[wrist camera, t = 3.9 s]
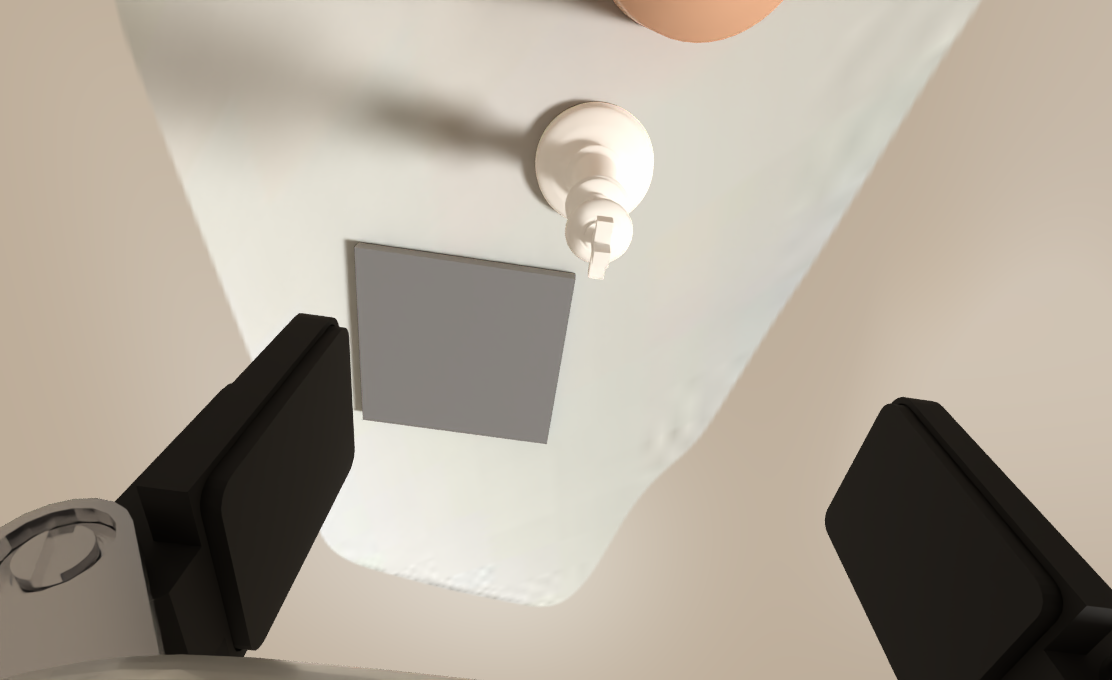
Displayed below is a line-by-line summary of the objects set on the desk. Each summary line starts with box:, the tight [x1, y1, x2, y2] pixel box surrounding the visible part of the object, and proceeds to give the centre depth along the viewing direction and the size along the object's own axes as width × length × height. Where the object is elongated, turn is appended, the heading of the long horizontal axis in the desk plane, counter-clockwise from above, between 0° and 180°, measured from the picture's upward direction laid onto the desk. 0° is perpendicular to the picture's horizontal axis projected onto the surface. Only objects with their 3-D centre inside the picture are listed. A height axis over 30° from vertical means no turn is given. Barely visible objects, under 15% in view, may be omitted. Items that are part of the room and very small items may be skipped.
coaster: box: [354, 242, 575, 444], centre depth 28 cm, size 10×10×1 cm
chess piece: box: [535, 102, 654, 279], centre depth 19 cm, size 5×5×10 cm
